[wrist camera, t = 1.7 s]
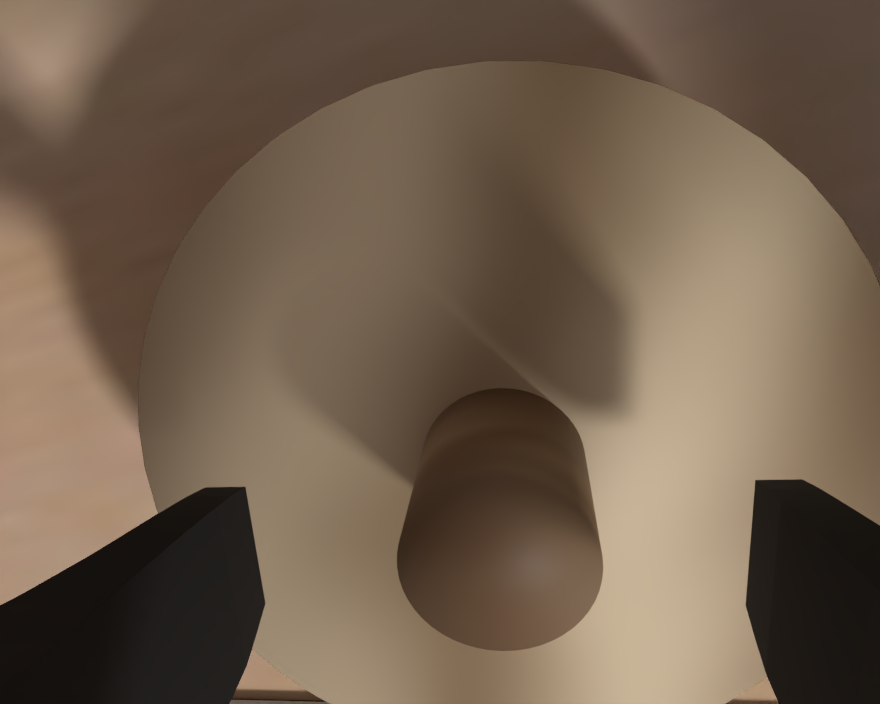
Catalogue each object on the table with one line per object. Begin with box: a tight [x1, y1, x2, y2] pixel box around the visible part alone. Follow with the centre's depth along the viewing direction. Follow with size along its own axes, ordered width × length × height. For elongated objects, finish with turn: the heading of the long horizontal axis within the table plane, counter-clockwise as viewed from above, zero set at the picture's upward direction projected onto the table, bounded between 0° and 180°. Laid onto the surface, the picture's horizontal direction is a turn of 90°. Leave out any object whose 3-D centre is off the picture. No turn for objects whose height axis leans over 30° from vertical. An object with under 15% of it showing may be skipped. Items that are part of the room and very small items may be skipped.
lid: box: [138, 61, 880, 704], centre depth 12 cm, size 13×13×4 cm
